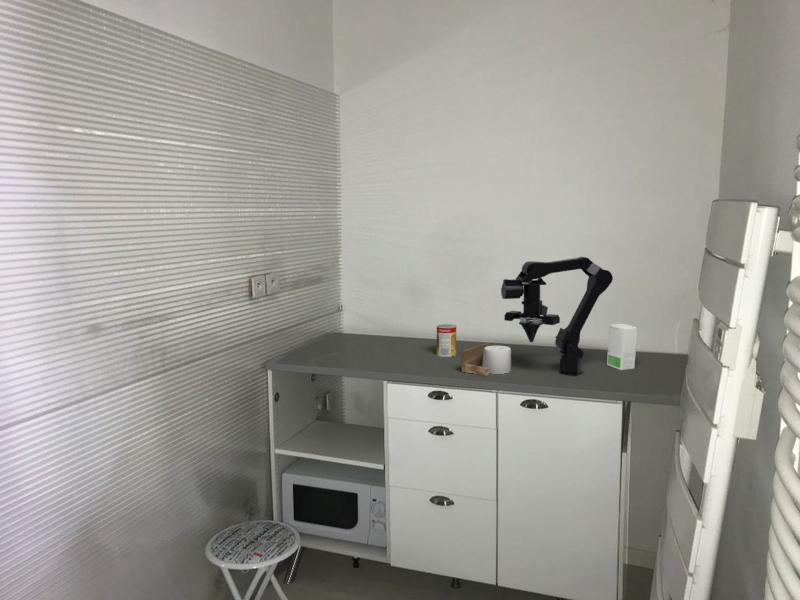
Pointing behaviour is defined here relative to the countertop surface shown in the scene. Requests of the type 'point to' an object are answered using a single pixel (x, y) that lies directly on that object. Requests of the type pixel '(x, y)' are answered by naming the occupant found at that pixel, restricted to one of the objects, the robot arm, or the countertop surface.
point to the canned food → (446, 340)
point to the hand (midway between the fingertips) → (531, 341)
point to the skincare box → (622, 346)
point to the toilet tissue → (497, 359)
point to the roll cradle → (474, 360)
